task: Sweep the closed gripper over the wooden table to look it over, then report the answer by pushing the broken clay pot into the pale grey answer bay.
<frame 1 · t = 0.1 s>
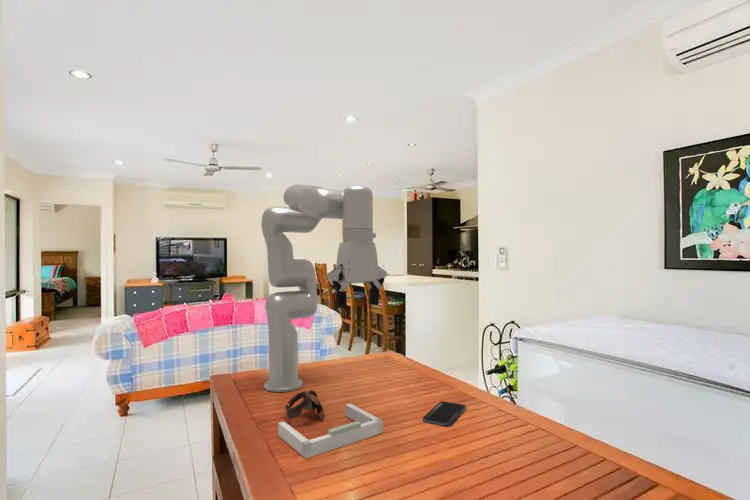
hand: (358, 306, 101), 31 cm above the table, tool pointing down, fingers open, 9 cm apart
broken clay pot: (307, 418, 110), on the table
phone: (445, 416, 112), on the table
answer bay: (330, 433, 100), on the table
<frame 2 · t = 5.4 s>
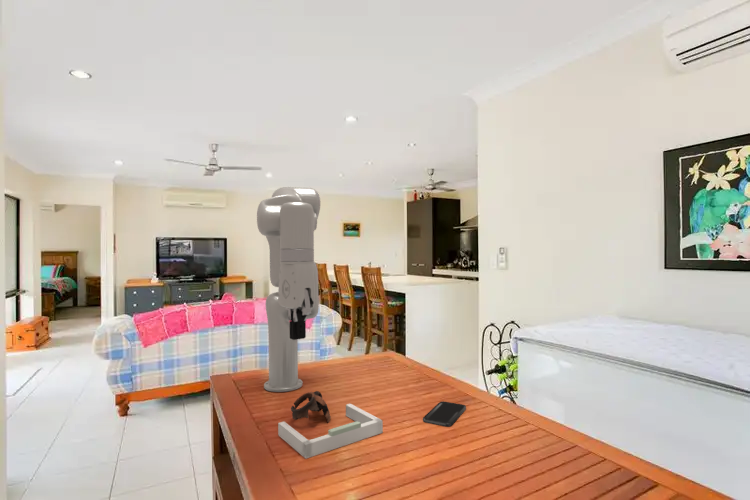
hand: (297, 338, 92), 25 cm above the table, tool pointing down, fingers closed
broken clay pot: (312, 420, 110), on the table
everything else where it was.
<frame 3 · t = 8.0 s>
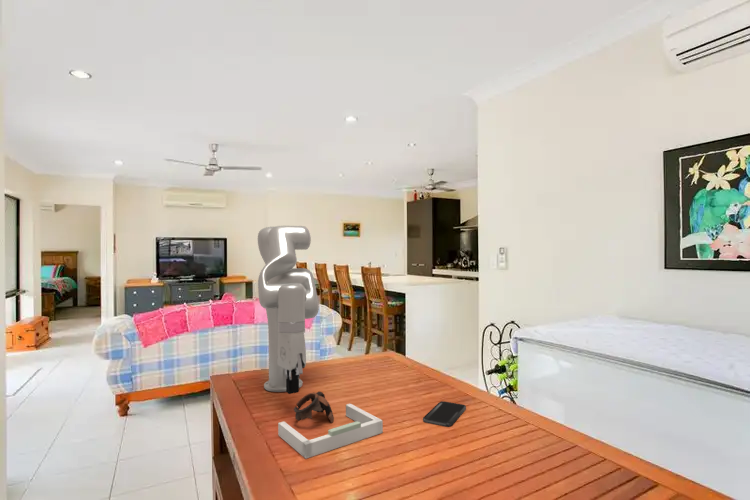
hand: (292, 392, 117), 5 cm above the table, tool pointing down, fingers closed
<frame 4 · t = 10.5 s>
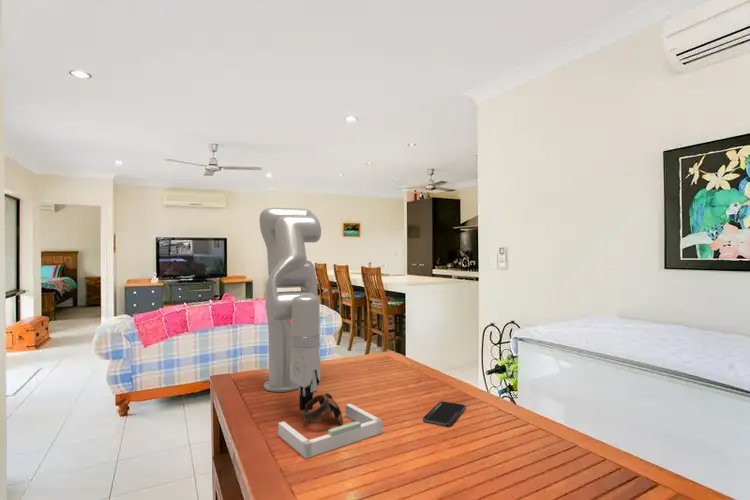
hand: (306, 409, 111), 2 cm above the table, tool pointing down, fingers closed
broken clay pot: (324, 423, 107), on the table, touching gripper
everything else where it was.
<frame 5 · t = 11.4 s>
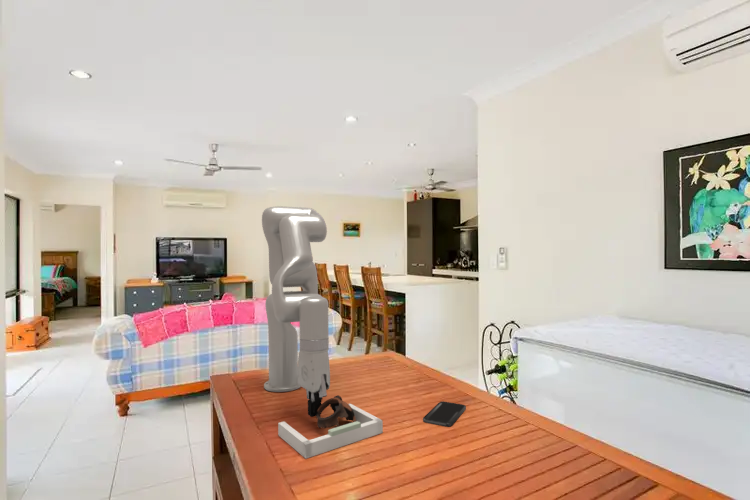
hand: (314, 414, 107), 2 cm above the table, tool pointing down, fingers closed
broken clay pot: (337, 426, 105), on the table, touching gripper
everything else where it was.
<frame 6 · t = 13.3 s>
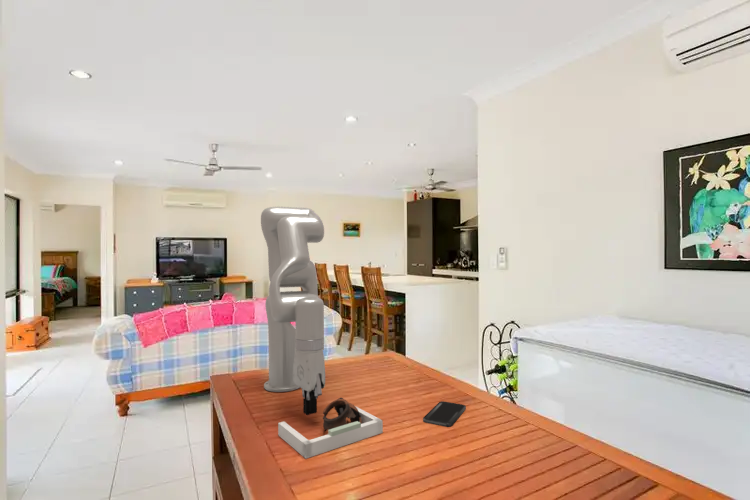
hand: (310, 413, 109), 2 cm above the table, tool pointing down, fingers closed
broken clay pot: (342, 428, 104), on the table
everything else where it was.
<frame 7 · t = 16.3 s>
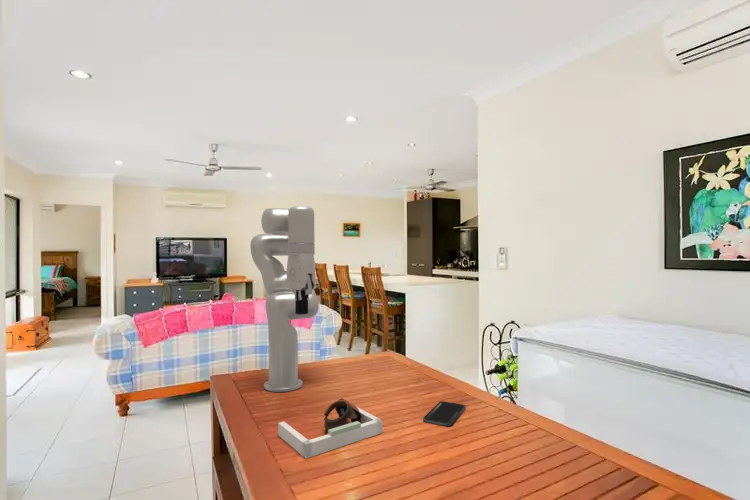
hand: (301, 313, 117), 27 cm above the table, tool pointing down, fingers closed
nothing on the table moved.
at the end: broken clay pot inside the target area (4.7 cm from its centre), on the table; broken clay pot tilted 0°; the gripper is holding nothing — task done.
